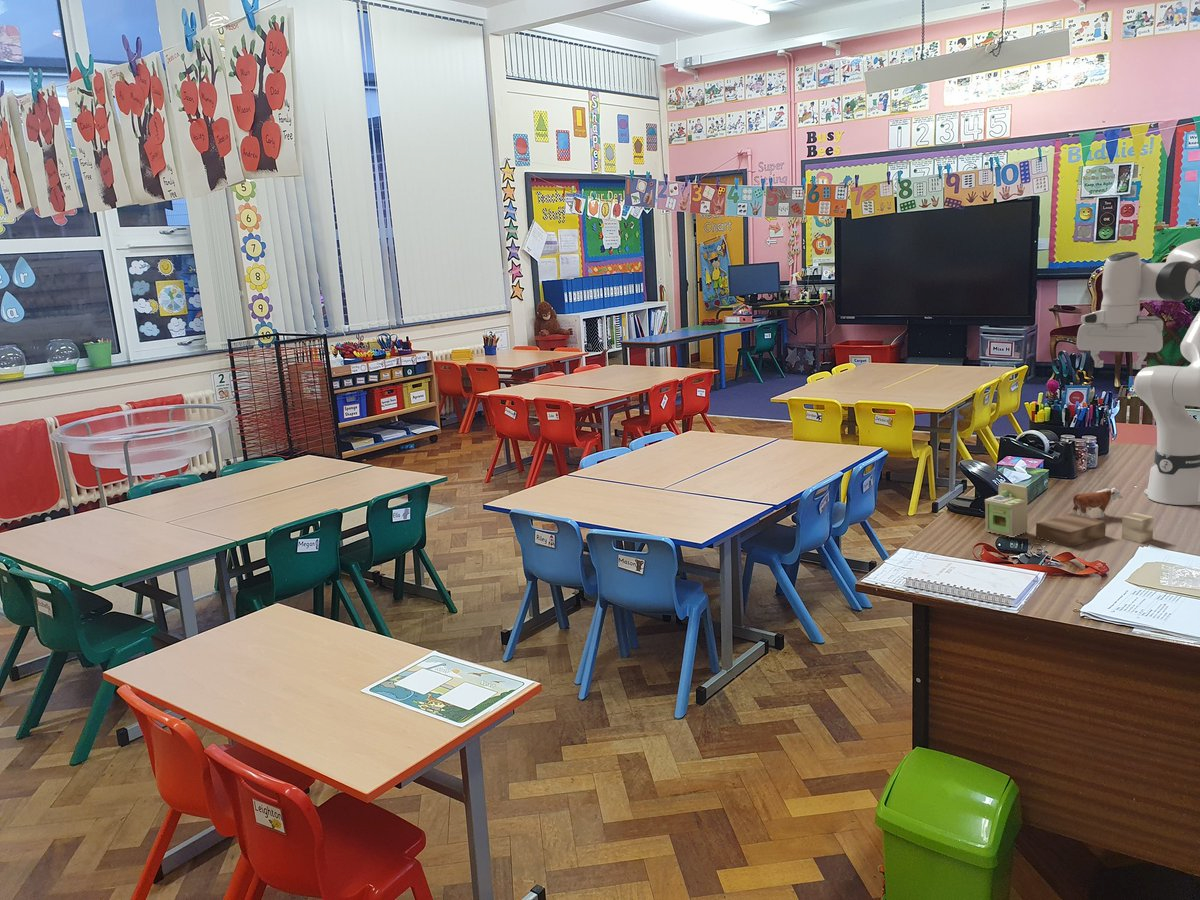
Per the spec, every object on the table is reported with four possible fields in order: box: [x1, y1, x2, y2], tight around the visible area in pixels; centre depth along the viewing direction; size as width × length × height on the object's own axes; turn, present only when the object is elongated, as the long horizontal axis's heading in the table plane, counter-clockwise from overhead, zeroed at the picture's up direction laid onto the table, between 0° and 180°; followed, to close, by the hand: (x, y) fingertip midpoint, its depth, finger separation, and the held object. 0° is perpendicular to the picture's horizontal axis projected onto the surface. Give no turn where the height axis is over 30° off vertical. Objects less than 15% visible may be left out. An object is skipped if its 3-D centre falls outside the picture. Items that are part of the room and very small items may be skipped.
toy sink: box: [984, 481, 1028, 536], centre depth 244 cm, size 8×7×13 cm
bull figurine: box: [1072, 487, 1124, 518], centre depth 251 cm, size 4×13×8 cm, turn 89°
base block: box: [1035, 513, 1107, 548], centre depth 237 cm, size 14×10×4 cm
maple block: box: [1121, 512, 1155, 544], centre depth 232 cm, size 5×5×6 cm
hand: (1117, 368), depth 237 cm, fingers open, 8 cm apart
